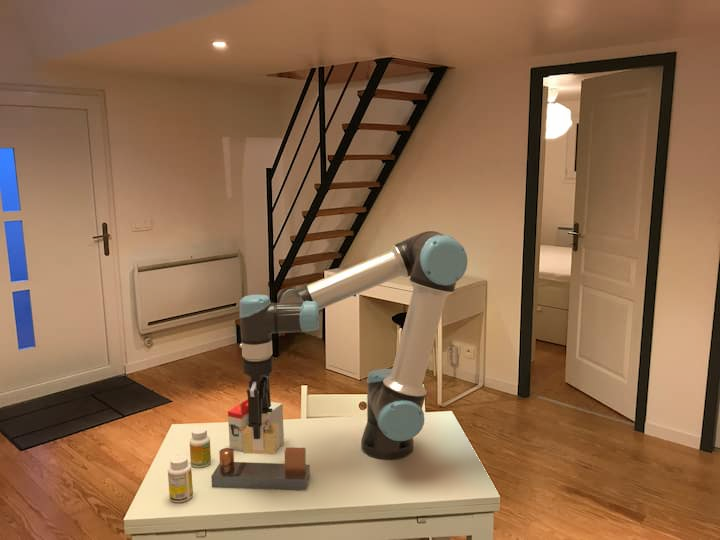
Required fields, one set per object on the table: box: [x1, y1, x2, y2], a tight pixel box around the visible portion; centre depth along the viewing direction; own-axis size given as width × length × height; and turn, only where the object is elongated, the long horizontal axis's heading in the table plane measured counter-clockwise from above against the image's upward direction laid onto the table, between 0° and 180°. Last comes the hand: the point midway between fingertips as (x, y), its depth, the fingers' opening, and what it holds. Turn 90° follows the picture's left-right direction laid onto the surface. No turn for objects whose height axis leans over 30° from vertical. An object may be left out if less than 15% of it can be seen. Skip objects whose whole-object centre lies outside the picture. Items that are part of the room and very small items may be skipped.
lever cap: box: [242, 420, 280, 455], centre depth 151 cm, size 8×6×7 cm
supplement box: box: [268, 401, 285, 450], centre depth 171 cm, size 7×7×13 cm
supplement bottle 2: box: [189, 426, 212, 469], centre depth 161 cm, size 5×5×10 cm
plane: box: [210, 446, 311, 492], centre depth 152 cm, size 24×8×9 cm, turn 86°
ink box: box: [227, 398, 249, 452], centre depth 172 cm, size 8×5×15 cm, turn 155°
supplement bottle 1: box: [167, 454, 194, 503], centre depth 144 cm, size 6×6×10 cm
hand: (261, 442), depth 151 cm, fingers closed on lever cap, 6 cm apart
